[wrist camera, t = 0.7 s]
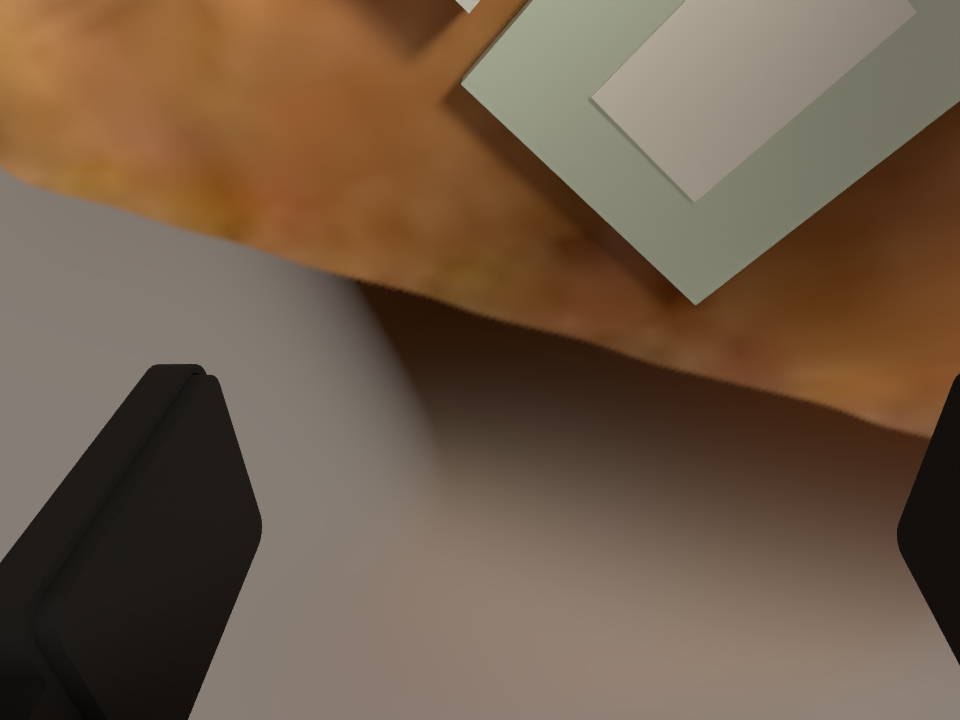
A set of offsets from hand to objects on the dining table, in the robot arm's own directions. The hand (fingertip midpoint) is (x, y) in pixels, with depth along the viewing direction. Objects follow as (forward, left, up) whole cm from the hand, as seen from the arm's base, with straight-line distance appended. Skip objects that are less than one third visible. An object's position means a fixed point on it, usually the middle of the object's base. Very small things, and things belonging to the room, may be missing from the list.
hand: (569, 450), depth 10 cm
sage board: (-5, +6, -27) cm, 28 cm away
